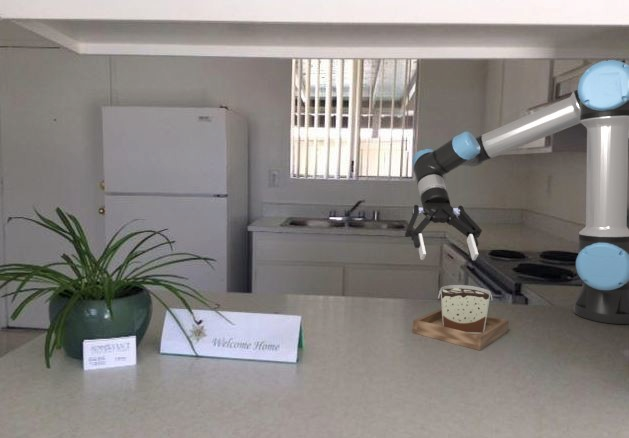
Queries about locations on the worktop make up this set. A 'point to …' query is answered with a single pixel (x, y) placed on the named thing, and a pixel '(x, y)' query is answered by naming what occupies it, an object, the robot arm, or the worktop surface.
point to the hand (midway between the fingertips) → (449, 257)
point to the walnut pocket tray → (434, 329)
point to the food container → (464, 307)
